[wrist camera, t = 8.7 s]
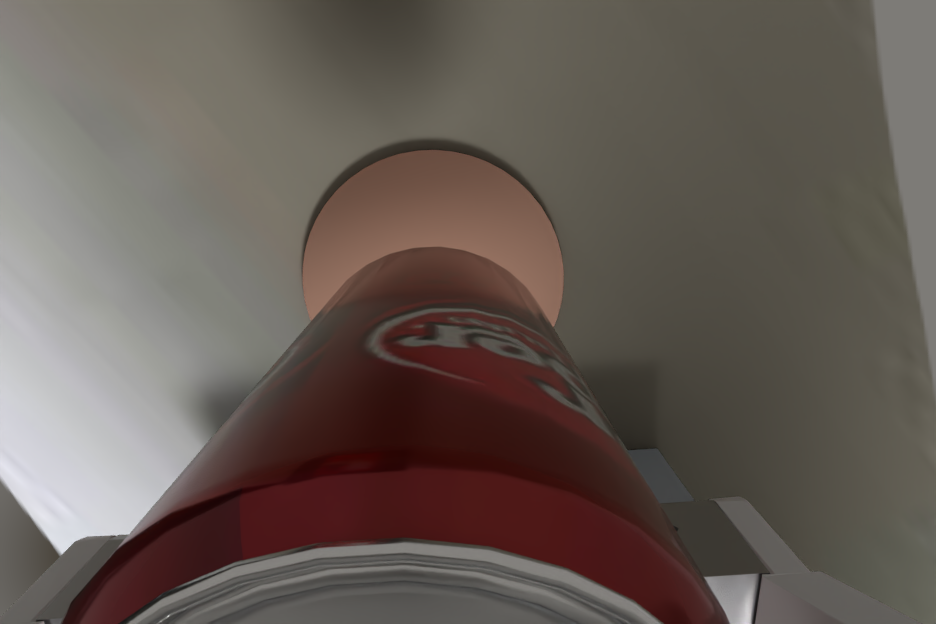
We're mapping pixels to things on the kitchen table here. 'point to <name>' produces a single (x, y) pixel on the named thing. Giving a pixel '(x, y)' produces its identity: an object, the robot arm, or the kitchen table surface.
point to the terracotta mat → (433, 223)
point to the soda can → (410, 479)
